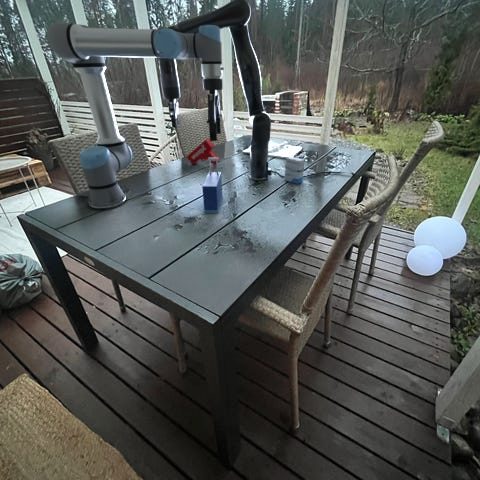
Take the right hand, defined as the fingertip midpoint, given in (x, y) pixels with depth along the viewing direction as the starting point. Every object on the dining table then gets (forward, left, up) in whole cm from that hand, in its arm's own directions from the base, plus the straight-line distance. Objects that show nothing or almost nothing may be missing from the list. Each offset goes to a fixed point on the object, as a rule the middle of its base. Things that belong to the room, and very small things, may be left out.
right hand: (175, 125), depth 126 cm
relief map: (-58, -59, -28) cm, 87 cm away
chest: (-16, +27, -28) cm, 42 cm away
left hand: (-19, +18, -2) cm, 26 cm away
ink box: (-58, +1, -28) cm, 65 cm away
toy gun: (-9, -32, -28) cm, 44 cm away
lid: (-17, +26, -18) cm, 36 cm away
